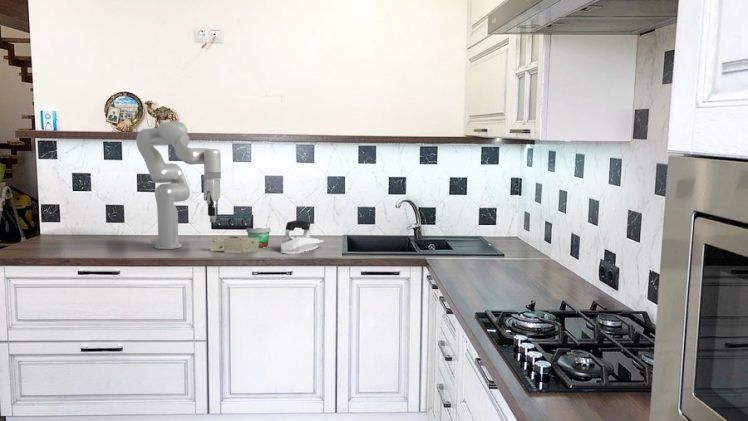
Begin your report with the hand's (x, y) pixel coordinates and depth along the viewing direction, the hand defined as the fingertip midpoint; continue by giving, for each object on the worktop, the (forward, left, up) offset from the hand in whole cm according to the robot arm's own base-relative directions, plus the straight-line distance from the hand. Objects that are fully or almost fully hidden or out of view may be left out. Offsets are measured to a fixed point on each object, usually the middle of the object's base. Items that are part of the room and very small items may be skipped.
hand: (212, 214), depth 302 cm
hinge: (+7, +10, -19) cm, 22 cm away
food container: (+16, +22, -19) cm, 33 cm away
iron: (+38, +19, -19) cm, 46 cm away
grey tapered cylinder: (0, 0, -3) cm, 3 cm away
